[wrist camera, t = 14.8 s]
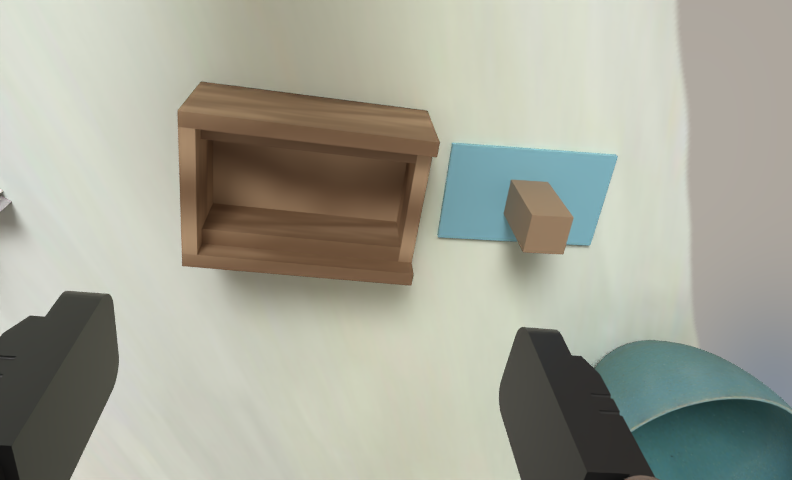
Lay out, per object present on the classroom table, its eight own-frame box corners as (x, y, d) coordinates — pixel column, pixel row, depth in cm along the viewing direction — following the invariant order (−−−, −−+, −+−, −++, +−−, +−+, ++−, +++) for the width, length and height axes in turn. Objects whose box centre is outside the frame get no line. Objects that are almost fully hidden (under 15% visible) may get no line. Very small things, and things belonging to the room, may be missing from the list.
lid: (451, 140, 44) (467, 177, 39) (613, 152, 46) (652, 189, 40) (436, 232, 48) (449, 278, 42) (586, 240, 50) (618, 285, 44)
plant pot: (650, 454, 64) (710, 563, 53) (508, 412, 59) (543, 524, 48) (764, 332, 56) (861, 432, 46) (612, 272, 51) (681, 369, 41)
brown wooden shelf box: (200, 81, 40) (177, 110, 35) (427, 110, 43) (439, 142, 37) (202, 221, 46) (182, 265, 40) (403, 240, 48) (411, 285, 42)
